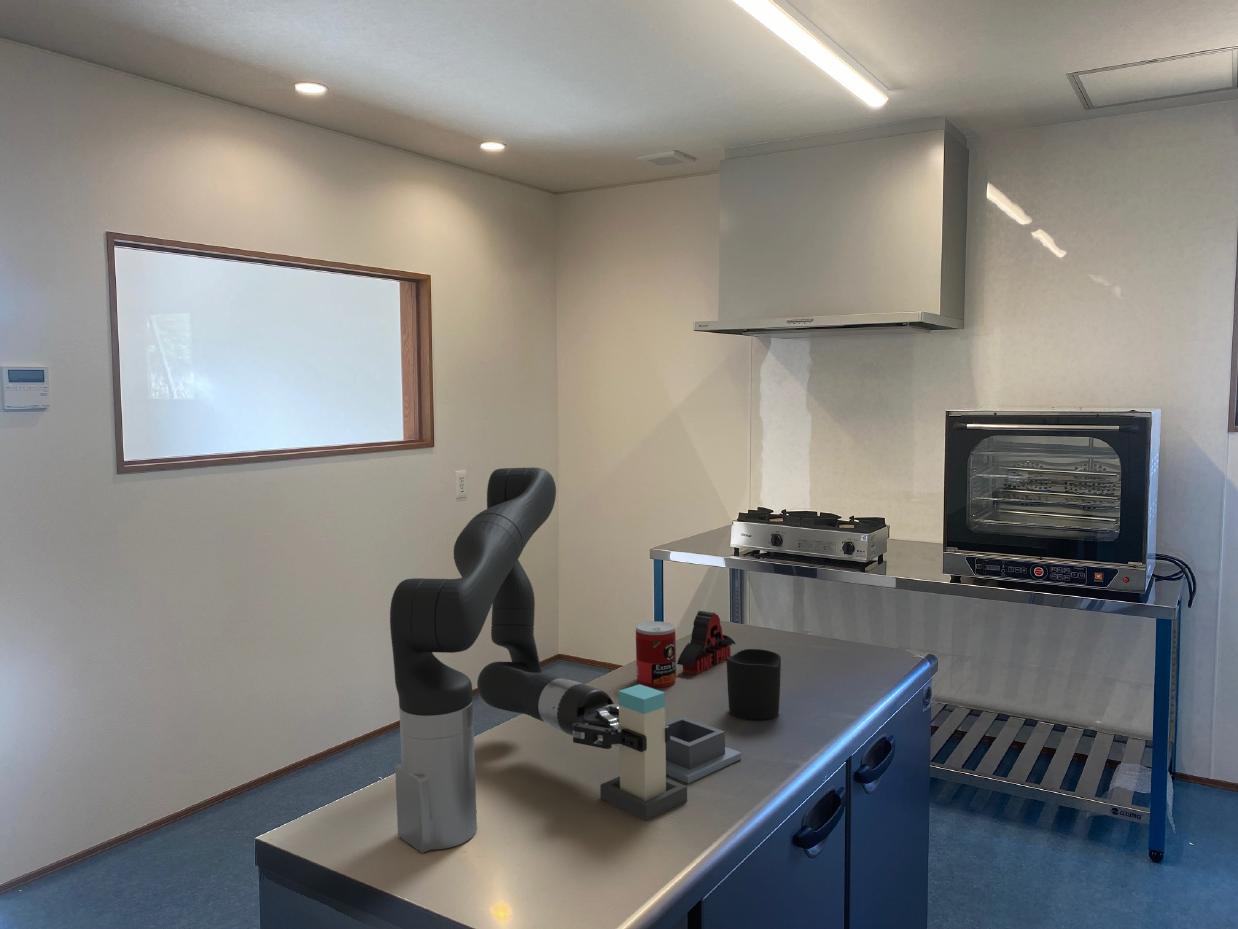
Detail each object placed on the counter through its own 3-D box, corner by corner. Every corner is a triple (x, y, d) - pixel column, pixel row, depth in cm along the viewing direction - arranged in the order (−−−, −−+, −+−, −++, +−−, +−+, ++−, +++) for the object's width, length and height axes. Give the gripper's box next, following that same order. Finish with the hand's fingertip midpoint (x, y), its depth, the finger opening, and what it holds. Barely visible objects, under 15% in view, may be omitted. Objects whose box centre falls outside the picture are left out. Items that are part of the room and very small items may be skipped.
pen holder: (788, 720, 151) (788, 662, 150) (735, 724, 150) (735, 666, 149) (770, 701, 160) (770, 647, 160) (720, 705, 159) (719, 650, 158)
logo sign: (691, 678, 174) (690, 622, 173) (676, 675, 176) (676, 620, 176) (735, 655, 189) (735, 604, 188) (721, 652, 191) (721, 602, 190)
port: (688, 783, 127) (687, 753, 127) (630, 759, 136) (630, 731, 136) (741, 759, 135) (740, 730, 135) (683, 737, 144) (683, 710, 144)
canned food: (656, 691, 167) (655, 634, 166) (628, 681, 173) (627, 626, 172) (684, 681, 172) (684, 626, 171) (656, 672, 178) (655, 619, 177)
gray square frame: (646, 820, 117) (645, 805, 116) (600, 798, 123) (600, 784, 123) (687, 800, 122) (686, 786, 122) (641, 780, 129) (641, 767, 128)
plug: (645, 801, 119) (644, 699, 118) (620, 789, 123) (618, 691, 122) (666, 791, 122) (664, 692, 121) (640, 780, 125) (639, 684, 124)
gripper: (536, 695, 127) (618, 726, 114) (609, 673, 137) (692, 699, 124) (537, 746, 128) (619, 782, 115) (610, 720, 137) (692, 751, 125)
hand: (656, 739), depth 120 cm, fingers closed on plug, 4 cm apart
